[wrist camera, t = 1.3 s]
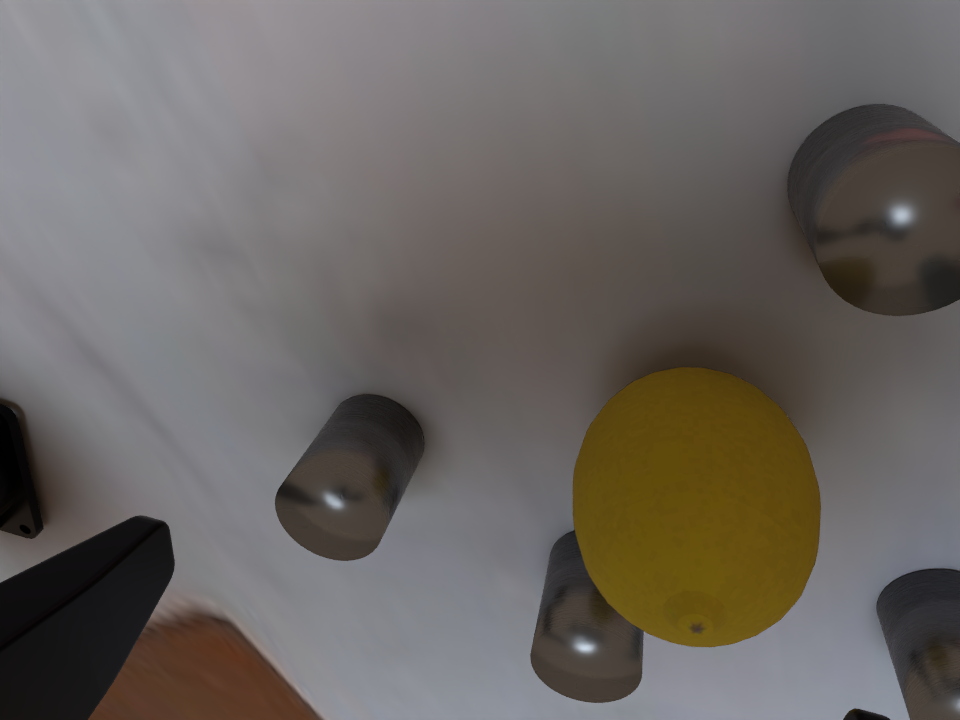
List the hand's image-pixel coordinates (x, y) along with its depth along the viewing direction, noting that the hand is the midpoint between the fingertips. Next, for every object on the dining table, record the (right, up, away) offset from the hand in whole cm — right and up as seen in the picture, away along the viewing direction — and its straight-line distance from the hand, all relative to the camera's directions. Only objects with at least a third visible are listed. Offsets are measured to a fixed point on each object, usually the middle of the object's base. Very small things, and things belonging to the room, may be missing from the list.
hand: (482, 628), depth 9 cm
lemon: (+6, +2, +11) cm, 13 cm away
